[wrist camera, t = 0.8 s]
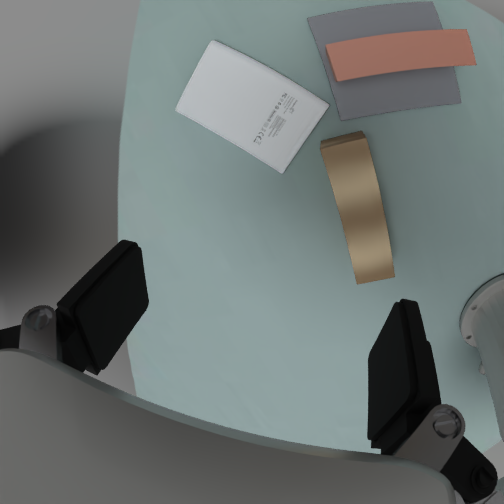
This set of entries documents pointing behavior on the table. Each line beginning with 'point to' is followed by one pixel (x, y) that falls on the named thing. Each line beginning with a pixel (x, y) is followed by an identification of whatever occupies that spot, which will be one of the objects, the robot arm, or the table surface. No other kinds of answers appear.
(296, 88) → the external hard drive
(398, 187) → the table surface
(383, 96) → the fulcrum board
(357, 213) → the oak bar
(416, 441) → the robot arm
